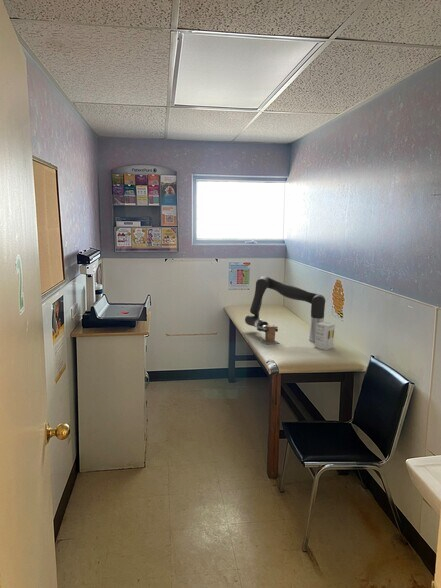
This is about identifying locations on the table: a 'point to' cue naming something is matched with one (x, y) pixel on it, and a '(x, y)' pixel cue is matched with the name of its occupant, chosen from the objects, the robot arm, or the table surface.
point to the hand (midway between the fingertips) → (271, 330)
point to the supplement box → (324, 335)
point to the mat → (270, 342)
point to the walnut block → (270, 333)
